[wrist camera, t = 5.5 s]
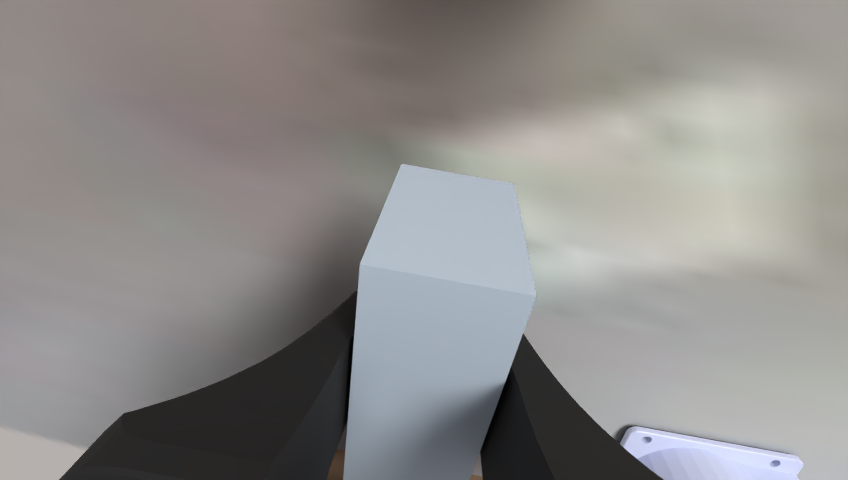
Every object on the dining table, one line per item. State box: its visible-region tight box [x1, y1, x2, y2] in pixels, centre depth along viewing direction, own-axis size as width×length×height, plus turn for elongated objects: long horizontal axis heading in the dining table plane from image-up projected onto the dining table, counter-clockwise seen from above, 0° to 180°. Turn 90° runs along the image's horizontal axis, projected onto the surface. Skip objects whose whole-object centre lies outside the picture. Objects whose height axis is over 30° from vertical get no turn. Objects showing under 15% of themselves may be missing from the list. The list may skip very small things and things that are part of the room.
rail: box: [343, 164, 537, 480], centre depth 13 cm, size 3×12×5 cm, turn 171°
